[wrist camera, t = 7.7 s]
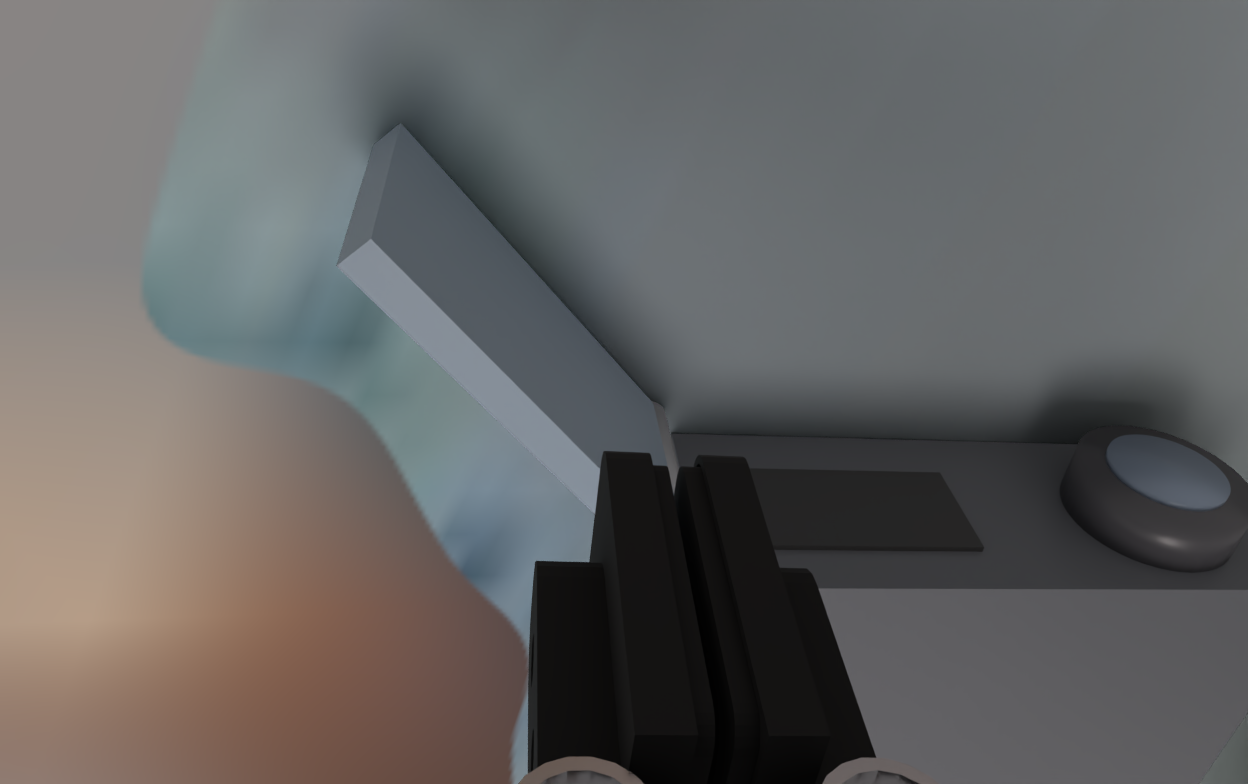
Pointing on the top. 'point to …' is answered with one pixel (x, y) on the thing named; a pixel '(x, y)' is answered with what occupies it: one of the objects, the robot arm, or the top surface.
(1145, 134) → the top surface
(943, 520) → the camera body
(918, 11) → the top surface
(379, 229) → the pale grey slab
